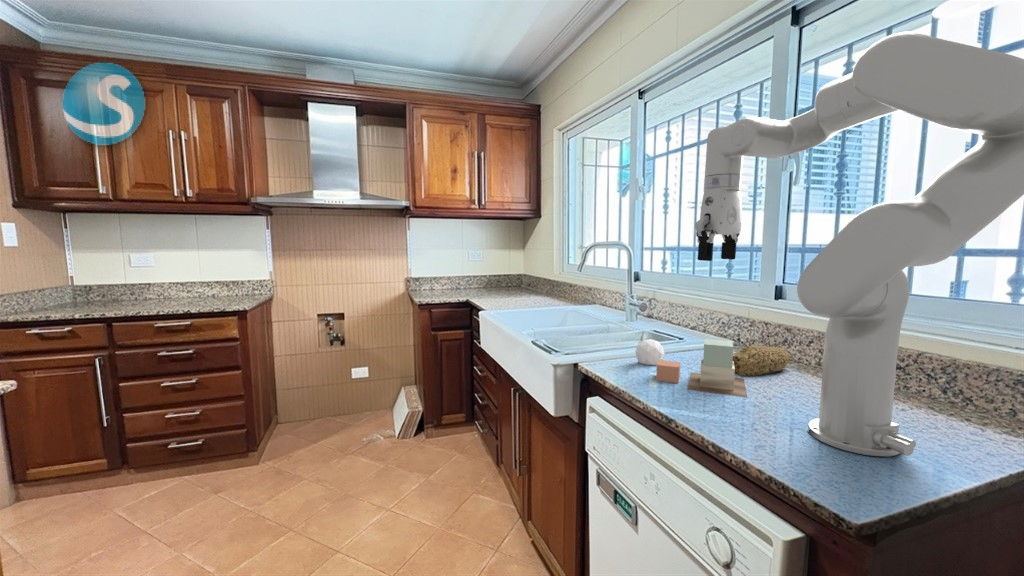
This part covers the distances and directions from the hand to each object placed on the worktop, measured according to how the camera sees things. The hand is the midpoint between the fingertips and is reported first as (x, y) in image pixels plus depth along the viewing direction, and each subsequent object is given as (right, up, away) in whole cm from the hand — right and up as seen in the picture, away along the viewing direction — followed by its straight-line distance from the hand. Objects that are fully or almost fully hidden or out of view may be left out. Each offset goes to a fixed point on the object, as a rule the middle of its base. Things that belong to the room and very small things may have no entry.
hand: (716, 259), depth 95 cm
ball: (-9, -29, +21) cm, 37 cm away
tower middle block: (+1, -25, +2) cm, 25 cm away
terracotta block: (-9, -30, +6) cm, 32 cm away
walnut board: (+1, -31, +2) cm, 31 cm away
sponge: (+19, -29, +15) cm, 38 cm away
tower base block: (+1, -30, +2) cm, 30 cm away
